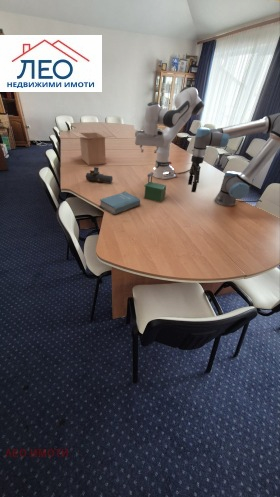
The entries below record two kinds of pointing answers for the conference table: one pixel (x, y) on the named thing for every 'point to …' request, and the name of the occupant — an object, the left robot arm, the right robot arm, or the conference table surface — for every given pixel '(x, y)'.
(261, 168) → the right robot arm
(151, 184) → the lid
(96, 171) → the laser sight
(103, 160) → the box
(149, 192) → the chest
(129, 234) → the conference table surface
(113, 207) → the book
